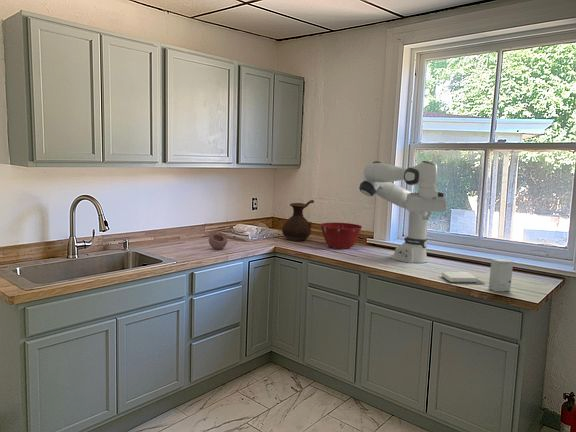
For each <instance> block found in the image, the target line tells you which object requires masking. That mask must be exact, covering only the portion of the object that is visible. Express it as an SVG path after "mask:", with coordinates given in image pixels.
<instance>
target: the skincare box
mask: <svg viewBox="0 0 576 432" xmlns="http://www.w3.org/2000/svg"><path fill="white" fill-rule="evenodd" d="M513 267H514V261H513V260H510V259H503V258H502V259H501V258H491V260H490V272H489V273H490V274H489V283H488V289H490V290H492V291H494V292H510V291H511V288H512V287H511V286H512V276H513Z"/></svg>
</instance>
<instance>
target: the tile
mask: <svg viewBox="0 0 576 432" xmlns="http://www.w3.org/2000/svg"><path fill="white" fill-rule="evenodd" d="M440 275H441V277H442V278H444V279H445V280H447V281H448V282H450V283H454V282H477V279H478V277H476V276H475V275H473V274H471V273H470V272H467V271H441V274H440Z"/></svg>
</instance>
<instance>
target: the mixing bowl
mask: <svg viewBox="0 0 576 432" xmlns="http://www.w3.org/2000/svg"><path fill="white" fill-rule="evenodd" d="M319 226H320V227H321V231H322V236H323V239H324V240H325V243H326V244H327V245H328V246H329V247H330V248H333V249H336V250H337V249H338V250H347V249H350V248H351V247H354V246H355V244H356V242H357V240H358V238H359V236H360V234H361V231H362V228H363V226H362V225H361V224H360V225H359V224H356V223H349V222H323V223H320V225H319Z"/></svg>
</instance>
